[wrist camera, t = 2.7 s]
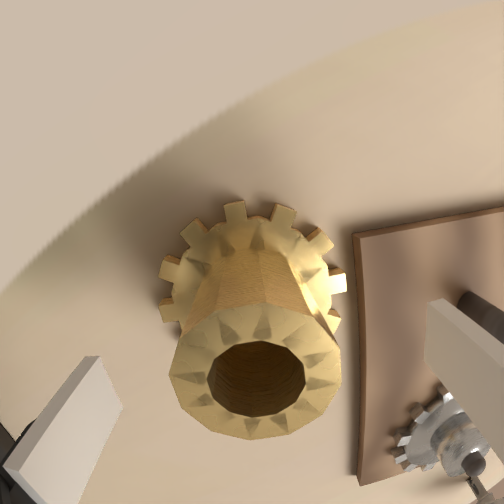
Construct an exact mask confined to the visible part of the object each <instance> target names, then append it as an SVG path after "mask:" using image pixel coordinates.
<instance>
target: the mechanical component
mask: <svg viewBox="0 0 504 504" xmlns="http://www.w3.org/2000/svg"><path fill="white" fill-rule="evenodd" d="M471 479H472V480H467V482H468V484H469V486H470V487H471V489H472V491H473V492H474V494H475V496H476V497H477V499H478V502H477V504H504V497H503V498H500V499H497V500H495V499H494V497H493V495H492V493H488V492H487V491H486V490H485V488H484V486H483V485H482V483H481V482H480V480H479V479H478V477H477V476H475V477H471Z"/></svg>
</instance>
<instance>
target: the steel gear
mask: <svg viewBox="0 0 504 504" xmlns="http://www.w3.org/2000/svg"><path fill="white" fill-rule="evenodd" d="M436 390H437V396H436V397H435V398H434V399H432V400H431V401H430V402H429V403H427V404H426V405H423V404H421V403H419V402H418V403H417V404H416V405H415V406H414V407H413V408H412V409H411V410H410V411H409V413H410V415H411V417H412V418H413V419H412V420H411V422H410V423H409V425H408V426H406V427H400V428H397V429H396V431H395V433H394V435H393V439H394V441H395V443H396V445H397V447H395V448H392V449H390V450H391V453H392V456H393V458H394V460H395V462H396V464H398V463H400V465H401V467H402V469H403V471H407V472H410V471H412V470H413V469H414V468H415V467H416V466H418V465H420V467H421V469H422V471H426V470H430V469H432V468H433V466H434V465H435V463H436V462H438V461H440V463H441V464H442V466H443V468H444V469H445V471H446V473H447V475H448V476H450V477H454V476H458V475H461V474H463V473H465V471H464V469H463V468H462V466H461V463H462V461H463V460H464V459H465V458H466V457H467V456H468V455H469V454H471V453H472V452H475V451H479V452H480V454H481V455H482V456H483V458H484V456H485V455H486V454H487V453H488V451H489V449H490V447H491V446H490V445H489V444H488V442H487V441H486V439H485V438H484V437H483V435H482V434H481V433H480V431H479V430H478V429H477V427H476V426H475V425H474V423H473V422H472V421H471V419H470V418H469V417H468V415H467V414H466V413H465V412H464V410H463V409H462V408H461V406H460V405H459V404H458V403H457V401H456V400H455V399H454V397H453V396H452V395H451V394H450V392H449V391H448V390H447V389H446V387H445V386H444V385H443V384H441V385H440V386H438V387H436Z"/></svg>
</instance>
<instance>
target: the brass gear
mask: <svg viewBox="0 0 504 504" xmlns="http://www.w3.org/2000/svg"><path fill="white" fill-rule="evenodd" d="M224 210H225V216H226V221H225V222H220V223H217V224H215V225H214V226H213V227H212V228H211V229H210V230H208V229H207V228H206V227H205V226H204V225H203V224H202V222H201V221H200V220H199V219H198V218H196V219H195V220H194V221H192V222H191V223H190V224H189V225H188V226H187V227H186V228H185V229H184V230H182V231H181V232H180V233H179V234H180V235H181V236H182V237H183V239H184V240H185V241H186V242H187V243H188V244H189V245H190V247H189V248H188V249H187V250H186V251H185V252H184V254H183V255H182V259H179V258H176V257H173V256H170V255H167V256H166V257H165V258H164V259H163V261H162V264H161V268H160V271H159V275H158V278H161V279H164V280H167V281H169V282H172V283H174V285H173V289H172V292H171V294H172V297H170V298H163V299H162V301H161V302H160V304H159V306H158V307H159V310H160V314H161V317H162V320H163V323H165V322H172V321H179V323H180V326H181V330H182V333H181V335H180V338H179V341H178V345H177V348H176V351H175V355H174V358H173V362H172V365H171V368H170V372H169V377H170V380H171V382H172V385H173V388H174V390H175V393H176V395H177V398H178V400H179V403H180V405H181V408H182V409H183V410H185V411H186V412H187V413H188V414H190V415H191V416H192V417H193V418H195V419H196V420H197V421H199V422H200V423H201V424H203V425H204V426H205V427H206V428H208V429H209V430H210V431H213V432H217V433H221V434H225V435H229V436H233V437H237V438H242V439H246V440H255V439H263V438H270V437H276V436H283V435H289V434H291V433H293V432H294V431H296V430H298V429H299V428H301V427H303V426H304V425H306V424H308V423H309V422H311V421H313V420H314V419H316V418H318V417H319V416H321V415H322V414H323V413H324V411H325V410H326V408H327V407H328V405H329V403H330V402H331V400H332V399H333V397H334V395H335V394H336V392H337V390H338V389H339V387H340V385H341V384H342V382H341V362H340V348H339V346H338V344H337V342H336V340H335V338H334V336H333V334H334V333H335V331H336V329H337V327H338V325H339V323H340V321H341V317H340V316H339V314H338V312H337V311H336V310H332V309H330V307H331V305H332V304H331V294H335V293H340V292H345V291H347V288H346V277H345V273H344V272H343V271H342V270H341V269H340V268H335V269H330V270H328V266H327V265H326V263H325V262H324V261H323V260H322V258H321V257H322V256H323V255H324V254H325V253H326V252H328V251H329V250H330V249H331V248H332V247H334V245H333V243H332V242H331V241H330V239H329V238H328V237H327V236H326V234H325V233H324V232H323V231H322V230H321V229H320V228H317V229H315V230H314V231H313V232H312V233H311V234H309V235H308V236H307V237H306V238H305V237H304V236H303V235H302V233H301V232H300V231H299V230H298V229H295V228H292V227H291V226H292V224H293V221H294V218H295V216H296V213H297V212H296V211H295V210H294V209H291V208H288V207H286V206H283V205H280V204H277V203H275V206H274V209H273V211H272V214H271V217H270V219H267V218H265V217H262V216H259V215H258V216H253V217H247V213H246V207H245V202H244V200H242V201H237V202H232V203H226V204H224Z"/></svg>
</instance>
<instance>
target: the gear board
mask: <svg viewBox="0 0 504 504" xmlns="http://www.w3.org/2000/svg"><path fill="white" fill-rule="evenodd" d="M352 241H353V251H354V261H355V273H356V286H357V301H358V319H359V344H360V421H359V445H358V461H357V475H356V476H357V479H358V482H359V485H360V486H364V485H367V484H371V483H374V482H377V481H380V480H384V479H387V478H390V477H393V476H396V475H399V474H401V473H404V472H407V471H403V469H402V467H401V465H400V463H398V464H396V462H395V460H394V458H393V456H392V453H391V450H390V449H392V448H395V447H397V445H396V443H395V441H394V439H393V435H394V433H395V431H396V429H397V428H400V427H406V426H408V425H409V423H410V422H411V420H412V419H413V418H412V417H411V415H410V413H409V411H410V410H411V409H412V408H413V407H414V406H415V405H416V404H417V403H418V402H419V403H421V404H423V405H426V404H427V403H429V402H430V401H431V400H432V399H434V398H435V397H436V396H437V390H436V387H438V386H440V385H441V384H442V382H441V381H440V380H439V379H438V377H437V376H436V375H435V374H434V373H433V371H432V370H431V369H430V368H429V366H428V365H427V364H426V363H425V362H424V350H425V339H426V324H427V303H428V302H431V301H435V300H438V299H442V298H444V299H445V300H446V301H448V302H449V303H450V304H452V305H453V306H454V307H456V308H457V309H458V310H460V311H461V312H462V313H464V314H465V315H466V316H468V317H469V318H470V319H472V320H473V321H474V322H476V323H477V324H478V325H479V326H481V327H482V328H483V329H485V330H486V331H487V332H488V333H490V334H491V335H492V336H493V337H495V338H496V339H497V340H498V341H500V342H501V343H502V344H503V345H504V206H503V207H498V208H492V209H487V210H481V211H475V212H470V213H464V214H459V215H453V216H447V217H442V218H436V219H431V220H425V221H419V222H414V223H408V224H403V225H397V226H392V227H386V228H380V229H375V230H369V231H364V232H358V233H352ZM461 466H462V468H463V469H464V471H465V472H466V474H467V475H468V476H470V477H475V476H478V475H480V474H481V473H482V472H483V471H484V469H485V466H486V462H485V459H484V458H483V456H482V455H481V454H480V452H479V451H475V452H472V453H471V454H469V455H468V456H467V457H466V458H465V459H464V460H463V461H462V463H461ZM418 467H420V465H418V466H416V467H415V468H418ZM415 468H414V469H415Z"/></svg>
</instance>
